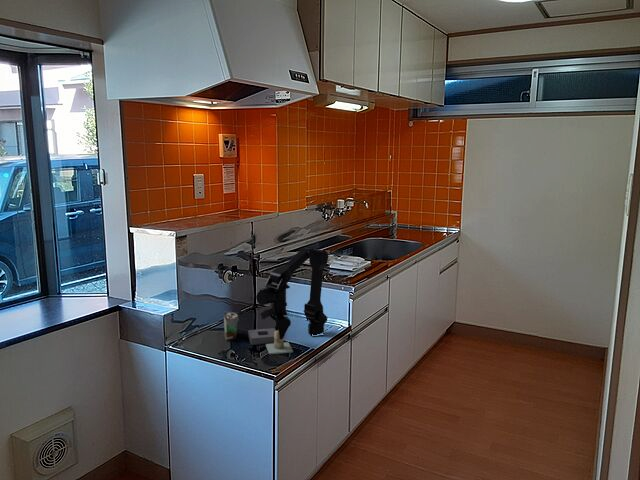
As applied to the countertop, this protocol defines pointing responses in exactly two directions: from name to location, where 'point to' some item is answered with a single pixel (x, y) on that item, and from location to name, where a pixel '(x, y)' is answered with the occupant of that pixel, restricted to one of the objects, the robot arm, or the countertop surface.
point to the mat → (286, 349)
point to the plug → (278, 341)
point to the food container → (230, 325)
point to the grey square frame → (261, 336)
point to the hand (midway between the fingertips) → (279, 335)
